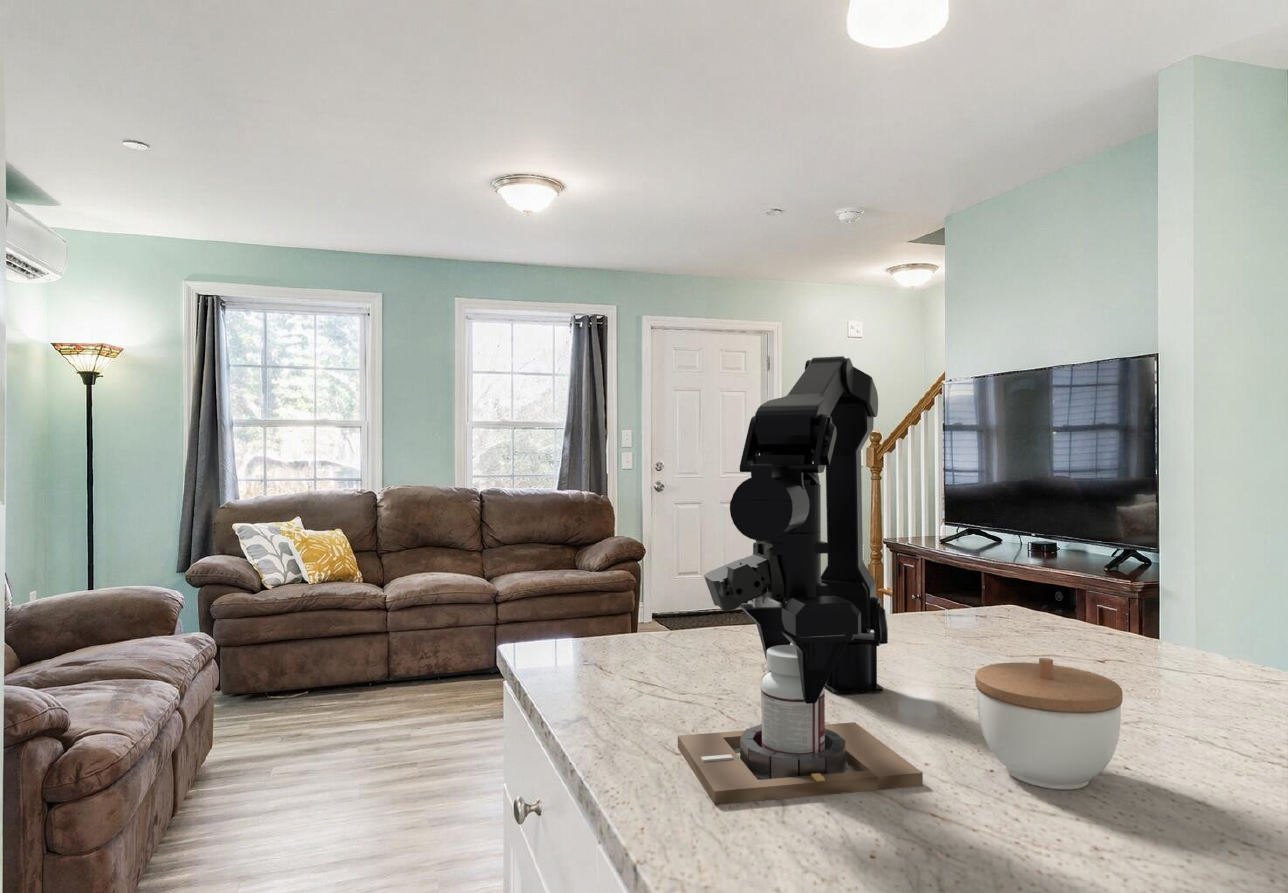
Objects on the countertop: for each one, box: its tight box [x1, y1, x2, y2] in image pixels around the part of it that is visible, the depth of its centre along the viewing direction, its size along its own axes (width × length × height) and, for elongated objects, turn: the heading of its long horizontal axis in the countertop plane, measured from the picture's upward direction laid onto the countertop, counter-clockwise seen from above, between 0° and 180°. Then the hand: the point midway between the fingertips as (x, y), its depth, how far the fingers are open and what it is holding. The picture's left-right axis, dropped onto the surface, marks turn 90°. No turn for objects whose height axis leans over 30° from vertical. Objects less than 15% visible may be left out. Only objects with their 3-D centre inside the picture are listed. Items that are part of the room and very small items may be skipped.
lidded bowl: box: [974, 657, 1124, 791], centre depth 77 cm, size 13×13×11 cm
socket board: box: [677, 721, 924, 806], centre depth 80 cm, size 20×14×2 cm
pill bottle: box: [760, 644, 826, 755], centre depth 80 cm, size 6×6×11 cm
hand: (791, 688), depth 80 cm, fingers open, 9 cm apart
